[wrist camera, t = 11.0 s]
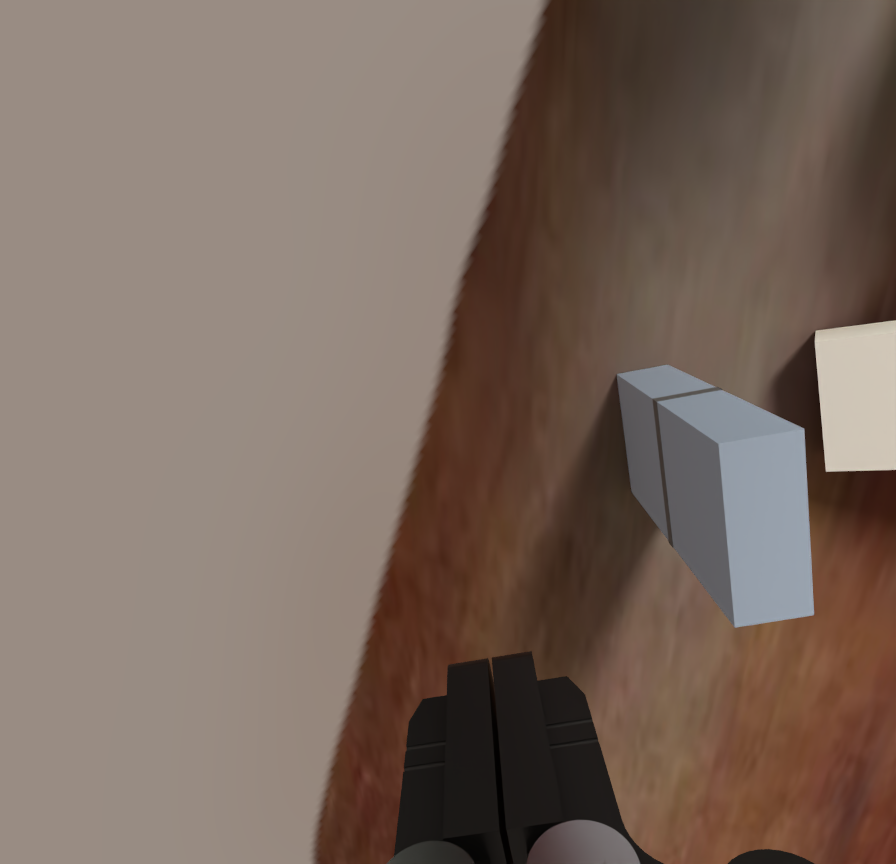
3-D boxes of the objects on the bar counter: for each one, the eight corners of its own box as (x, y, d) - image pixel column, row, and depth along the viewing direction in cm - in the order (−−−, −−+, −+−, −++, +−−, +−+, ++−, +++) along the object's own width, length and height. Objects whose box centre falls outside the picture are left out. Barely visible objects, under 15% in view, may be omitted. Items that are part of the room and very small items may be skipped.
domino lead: (615, 373, 25) (717, 443, 15) (668, 364, 24) (805, 427, 15) (631, 492, 26) (734, 628, 16) (680, 484, 26) (815, 615, 16)
